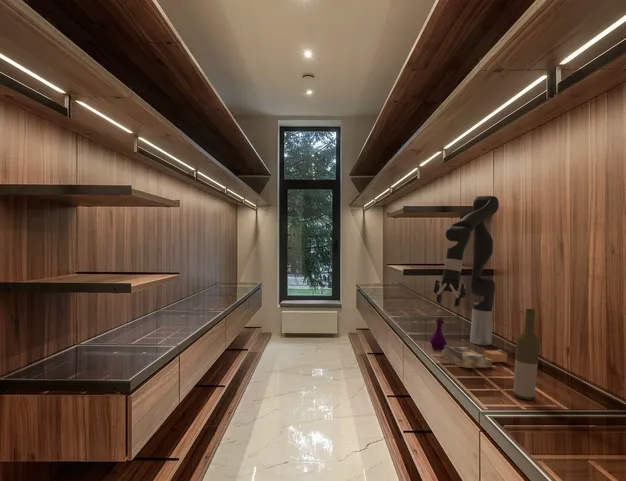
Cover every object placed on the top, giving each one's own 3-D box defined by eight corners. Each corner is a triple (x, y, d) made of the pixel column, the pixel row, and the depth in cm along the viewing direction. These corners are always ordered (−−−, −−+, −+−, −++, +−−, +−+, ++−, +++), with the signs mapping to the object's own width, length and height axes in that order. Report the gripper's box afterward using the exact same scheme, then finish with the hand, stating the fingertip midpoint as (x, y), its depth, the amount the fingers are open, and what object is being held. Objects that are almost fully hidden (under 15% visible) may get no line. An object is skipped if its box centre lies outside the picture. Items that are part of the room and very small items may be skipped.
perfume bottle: (446, 351, 185) (449, 312, 185) (429, 349, 187) (432, 311, 187) (444, 346, 193) (447, 309, 192) (428, 344, 194) (431, 308, 194)
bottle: (526, 393, 139) (533, 307, 138) (540, 401, 132) (547, 312, 131) (507, 392, 138) (514, 307, 138) (520, 401, 131) (527, 311, 131)
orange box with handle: (498, 359, 178) (499, 348, 177) (506, 363, 173) (507, 352, 173) (483, 359, 176) (483, 348, 176) (490, 363, 171) (491, 352, 171)
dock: (470, 356, 179) (471, 344, 179) (491, 367, 166) (492, 354, 166) (441, 356, 176) (441, 344, 176) (459, 367, 162) (460, 354, 162)
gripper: (471, 272, 178) (466, 308, 177) (442, 268, 189) (437, 302, 187) (463, 270, 173) (458, 307, 172) (434, 266, 184) (429, 301, 182)
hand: (447, 305), depth 180 cm, fingers open, 8 cm apart
